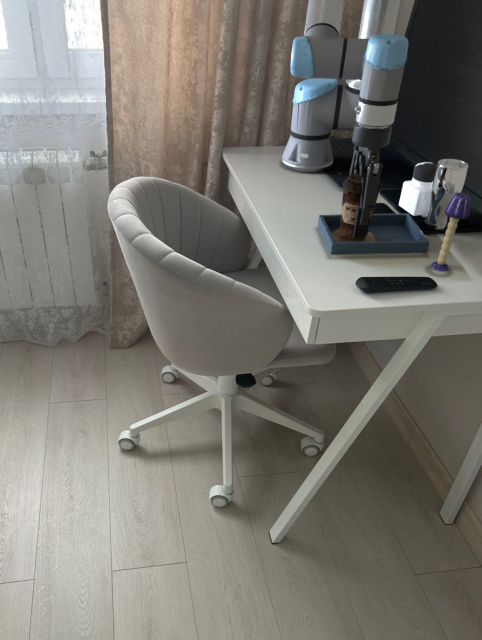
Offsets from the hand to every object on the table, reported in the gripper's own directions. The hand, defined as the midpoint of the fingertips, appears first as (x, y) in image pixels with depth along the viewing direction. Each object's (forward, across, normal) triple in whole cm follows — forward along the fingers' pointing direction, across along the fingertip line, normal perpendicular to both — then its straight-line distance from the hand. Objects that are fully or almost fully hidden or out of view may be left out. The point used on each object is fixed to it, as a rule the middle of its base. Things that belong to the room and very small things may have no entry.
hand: (354, 228), depth 129 cm
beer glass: (+4, -8, +22) cm, 24 cm away
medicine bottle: (+4, -16, +20) cm, 26 cm away
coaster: (+2, 0, 0) cm, 2 cm away
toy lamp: (+4, +14, +16) cm, 21 cm away
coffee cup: (+1, 0, 0) cm, 1 cm away
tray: (+3, 0, +4) cm, 5 cm away
